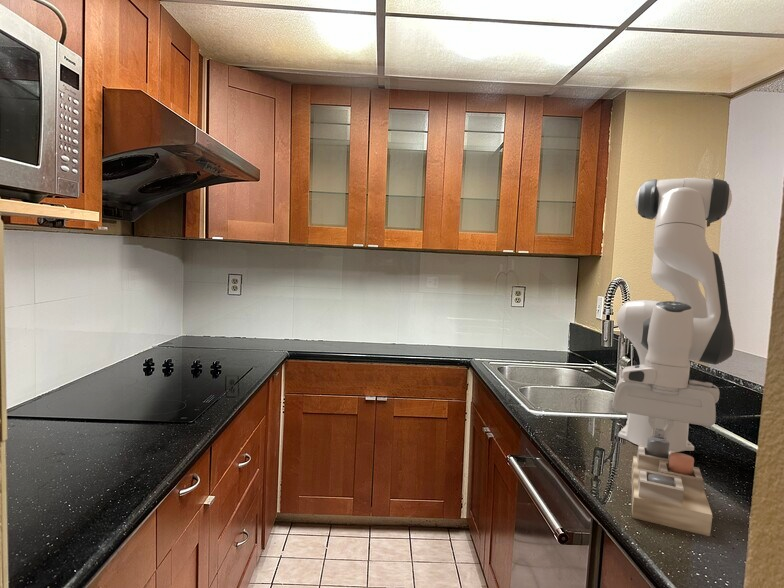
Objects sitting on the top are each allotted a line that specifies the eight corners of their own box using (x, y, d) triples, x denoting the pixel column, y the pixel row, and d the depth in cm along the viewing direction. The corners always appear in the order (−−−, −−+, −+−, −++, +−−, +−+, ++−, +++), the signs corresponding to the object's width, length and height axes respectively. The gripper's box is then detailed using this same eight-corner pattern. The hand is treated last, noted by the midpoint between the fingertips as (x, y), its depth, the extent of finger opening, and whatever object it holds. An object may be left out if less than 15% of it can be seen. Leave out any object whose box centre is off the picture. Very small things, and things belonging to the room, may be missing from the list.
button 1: (645, 449, 122) (647, 436, 122) (667, 453, 120) (668, 440, 120) (646, 455, 118) (647, 441, 118) (668, 459, 116) (670, 446, 116)
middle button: (667, 464, 113) (669, 450, 113) (691, 469, 111) (693, 455, 111) (669, 471, 109) (670, 457, 109) (693, 477, 107) (695, 462, 107)
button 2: (646, 486, 108) (648, 471, 108) (671, 491, 106) (672, 477, 106) (647, 494, 104) (648, 479, 103) (672, 500, 102) (674, 485, 102)
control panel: (631, 472, 126) (634, 443, 125) (694, 485, 121) (698, 455, 120) (631, 517, 103) (635, 482, 102) (709, 536, 98) (714, 499, 97)
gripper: (718, 381, 117) (711, 443, 117) (616, 366, 125) (610, 425, 126) (723, 386, 111) (715, 452, 112) (615, 371, 119) (609, 432, 120)
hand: (658, 437), depth 119 cm, fingers closed
